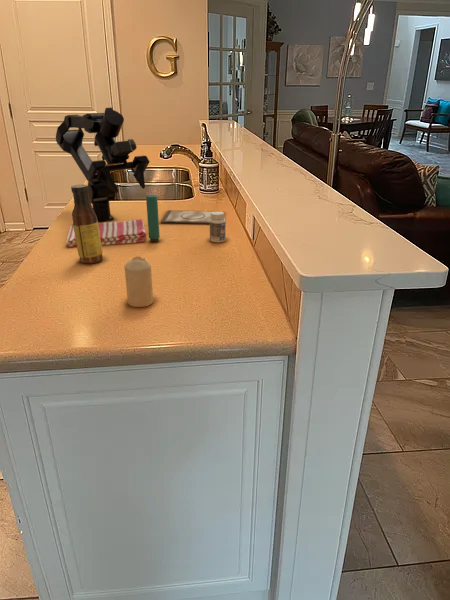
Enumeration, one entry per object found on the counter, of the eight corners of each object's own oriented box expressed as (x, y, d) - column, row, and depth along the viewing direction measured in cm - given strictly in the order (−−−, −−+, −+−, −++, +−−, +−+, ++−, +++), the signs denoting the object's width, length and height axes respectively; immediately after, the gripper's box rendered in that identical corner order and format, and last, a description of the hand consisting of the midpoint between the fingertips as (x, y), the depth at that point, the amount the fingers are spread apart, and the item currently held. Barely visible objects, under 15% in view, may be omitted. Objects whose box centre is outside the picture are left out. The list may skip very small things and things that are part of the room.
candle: (129, 297, 106) (125, 254, 101) (153, 296, 106) (151, 254, 102) (126, 307, 101) (122, 263, 96) (152, 307, 101) (149, 263, 97)
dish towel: (147, 242, 140) (146, 231, 139) (65, 247, 136) (64, 236, 134) (143, 226, 155) (142, 215, 154) (70, 230, 151) (68, 220, 149)
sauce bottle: (107, 257, 128) (99, 184, 120) (94, 265, 123) (85, 189, 114) (87, 255, 130) (77, 182, 122) (73, 262, 125) (62, 187, 116)
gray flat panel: (160, 223, 158) (160, 221, 158) (168, 211, 172) (168, 209, 172) (220, 224, 157) (220, 222, 157) (222, 212, 171) (222, 210, 170)
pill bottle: (223, 243, 140) (223, 215, 136) (208, 242, 141) (207, 214, 137) (226, 238, 144) (227, 211, 140) (211, 237, 145) (211, 210, 141)
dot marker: (147, 240, 142) (144, 195, 136) (157, 238, 143) (154, 194, 138) (151, 243, 139) (148, 197, 134) (161, 241, 141) (158, 196, 135)
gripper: (87, 132, 134) (110, 177, 131) (144, 128, 145) (166, 169, 142) (79, 157, 142) (100, 200, 139) (133, 151, 153) (153, 191, 150)
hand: (131, 190), depth 143 cm, fingers open, 9 cm apart
